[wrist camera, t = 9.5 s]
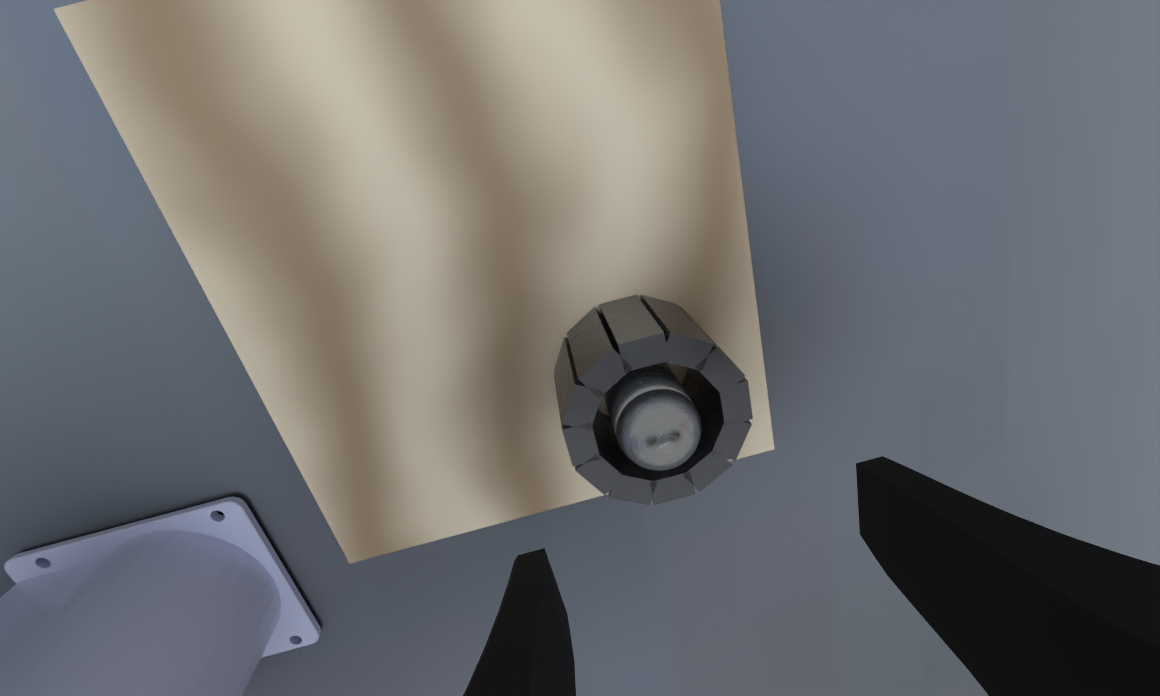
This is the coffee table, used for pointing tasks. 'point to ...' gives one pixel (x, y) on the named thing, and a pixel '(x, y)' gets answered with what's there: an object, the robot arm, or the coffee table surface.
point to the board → (434, 221)
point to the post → (653, 418)
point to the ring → (631, 342)
